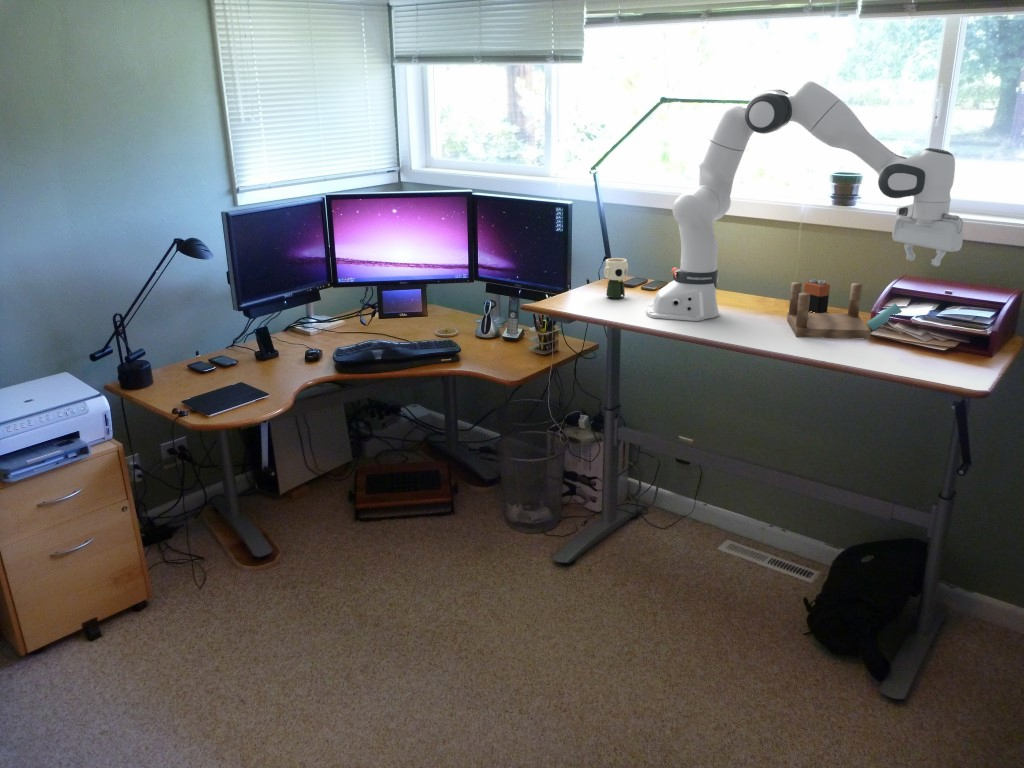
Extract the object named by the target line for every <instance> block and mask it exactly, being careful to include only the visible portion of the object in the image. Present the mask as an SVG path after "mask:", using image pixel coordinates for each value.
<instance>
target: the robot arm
mask: <svg viewBox="0 0 1024 768" xmlns="http://www.w3.org/2000/svg"><path fill="white" fill-rule="evenodd" d="M790 122H795V123H797V124H799V125H800V126H802V127H803V128H804V129H805V130H806V131H808V132H809V133H810V134H811V135H812V136H813V137H814V138H816V139H817V140H819V141H820V142H822V143H823V144H825V145H827V146H829V147H831V148H835V149H842V150H845V151H848V152H850V153H852V154H854V155H855V156H857V157H858V158H859V159H860V160H862V161H863V162H864V163H865V164H866V165H867V166H868V167H870V168H872V169H873V170H874V171H875V172H876V173H877V175H878V181H877V182H878V183H877V185H878V188H879V191H880V192H881V193H882V194H883V195H885V196H886V197H888V198H890V199H891V198H892V199H901V198H906V197H913V202H912V204H908V205H904V206H899V207H896V211H895V212H896V217H895V219H894V221H893V226H892V227H893V228H892V235H891V237H892V240H893V241H894V242H897V243H903V245H904V246H903V248H904V250H905V254H906V257H905V259H906V261H909V262H912V261H915V259H916V256H917V254H916V253H914V249H913V248H914V246H918V247H923V248H929V249H933V250H935V251H936V252H935V254H936V256H935V257H934V258H931V263H930V265H931V266H933V267H939V266H941V262H942V259H943V258H944V257H945V255H946V254H947V252H949V253H951V252H952V253H953V252H958V251H960V250H961V249H962V247H963V242H964V241H963V239H964V237H963V235H964V231H963V230H964V229H963V228H964V221H963V219H962V218H961V216H959V215H955V214H950V206H951V201H952V200H951V190H952V187H953V185H954V182H955V174H956V173H955V171H956V160H955V159H956V157H955V156H954V155H953V154H952V153H951V152H950V151H948V150H944V149H941V148H932V147H930V148H929V147H928V148H924V149H923V150H922V151H919V152H918V153H915V154H914V155H912V156H909V157H907V156H902V155H898V154H896V153H894V152H893V151H891V150H890V149H889V148H888V147H886V146H885V145H884V144H883V143H881V142H880V141H879V140H878V139H877V138H875V137H874V136H873V135H872V134H871V133H870V132H869V131H868V130H867V129H866V127H865V126H864V124H863V123H862V121H860V119H859V118H858V117H857V115H856V114H855V113H854V111H853V110H852V109H851V108H850V107H849V106H848V105H847V104H846V103H845V102H844V101H843V100H841V98H839V97H838V96H837V95H836V94H834V93H833V92H832V91H830V90H829V89H827V88H826V87H823V86H821V85H820V84H818V83H817V82H813V81H804V82H802V83H801V84H799V85H797V87H796V88H794V90H793V91H792V92H790V93H788V92H786V90H782V89H770V90H765V91H763V92H762V93H759V94H756V95H755V96H753V98H751V99H750V101H748V103H747V105H741V104H738V103H737V104H736V103H735V104H734V103H733V104H729V105H726V106H725V107H724V108H723V109H722V110H721V112H720V113H719V115H718V116H717V118H716V120H715V122H714V124H713V126H712V127H711V130H710V133H709V135H708V138H707V140H706V143H705V146H704V148H703V151H702V154H701V156H700V159H699V160H698V161H699V162H698V166H699V173H698V174H699V175H698V181H697V184H696V186H695V188H693V189H689V190H687V191H684V192H683V193H682V194H681V195H680V196H679V197H677V198H676V199H675V200H674V203H673V205H672V215H673V218H674V220H675V222H677V225H678V230H679V236H680V245H681V246H680V267H679V268H678V267H673V268H672V269H671V274H672V279H673V280H672V281H670V282H669V283H668V284H666V285H665V286H663V287H662V288H661V289H659V290H657V292H656V294H655V296H654V300H653V304H650V305H648V306H647V307H646V312H645V313H646V315H647V316H648V317H650V318H653V319H664V320H665V319H666V320H677V321H690V322H691V321H692V322H700V321H704V320H707V319H713V318H716V317H719V315H720V311H719V308H718V301H717V299H718V298H717V288H718V281H719V271H718V257H719V255H718V253H719V244H718V241H717V239H716V236H715V231H714V230H715V229H714V222H716V221H718V220H720V219H722V218H723V217H724V216H725V215H726V213H727V212H729V210H730V208H731V203H732V202H731V201H732V200H731V193H732V189H733V184H734V179H735V176H736V174H737V170H738V167H739V166H740V163H741V159H742V158H743V154H744V152H745V151H746V147H747V145H748V142H749V140H750V137H751V136H752V135H753V133H754V132H755V133H757V134H763V135H764V134H769V133H773V132H776V131H778V130H781V129H782V128H783V127H784V126H786V125H787V124H789V123H790Z"/></svg>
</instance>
